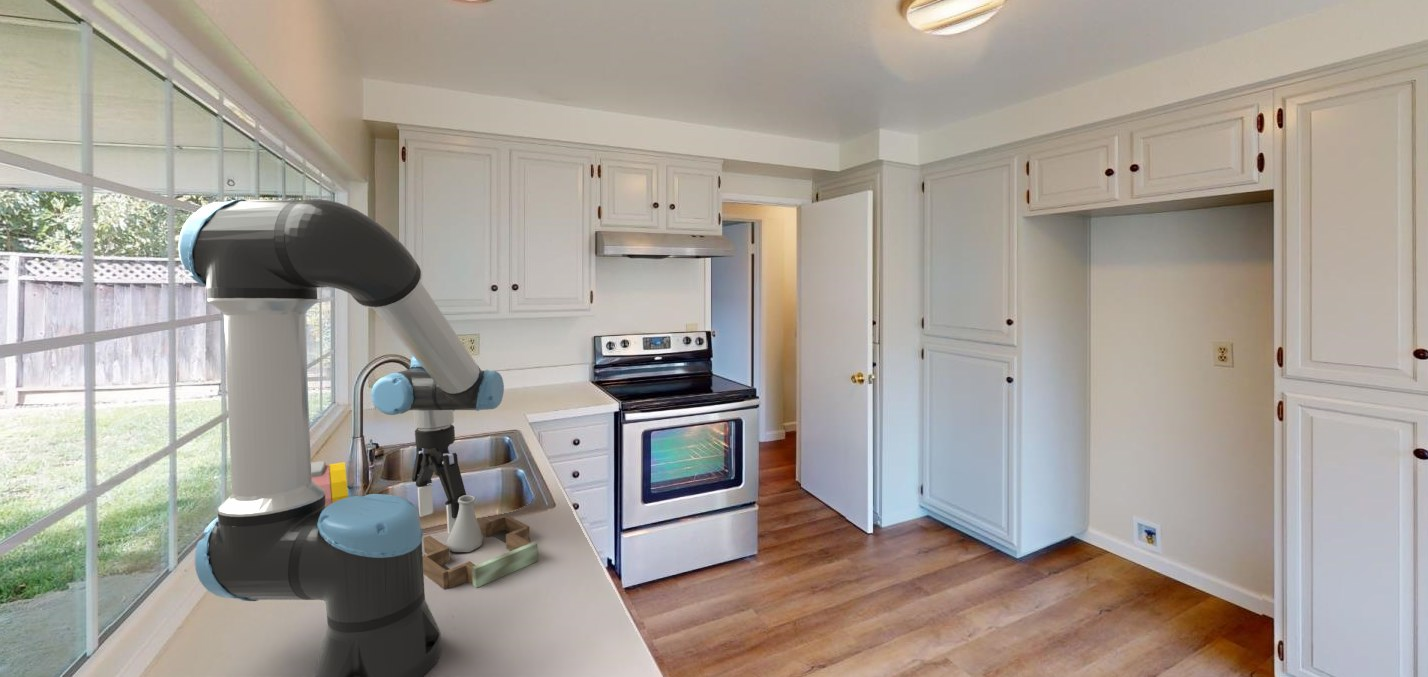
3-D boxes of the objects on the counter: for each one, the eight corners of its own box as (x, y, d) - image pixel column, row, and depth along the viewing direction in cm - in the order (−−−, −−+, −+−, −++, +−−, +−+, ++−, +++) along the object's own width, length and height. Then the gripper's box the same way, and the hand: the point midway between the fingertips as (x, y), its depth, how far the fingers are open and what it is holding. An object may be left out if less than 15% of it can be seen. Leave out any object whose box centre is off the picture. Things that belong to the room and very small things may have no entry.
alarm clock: (302, 542, 116) (295, 457, 114) (349, 532, 120) (343, 450, 119) (300, 572, 103) (292, 477, 102) (352, 559, 108) (346, 468, 106)
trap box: (454, 597, 95) (453, 578, 94) (404, 559, 108) (403, 542, 108) (555, 553, 110) (554, 536, 110) (499, 524, 124) (499, 509, 123)
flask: (489, 538, 117) (492, 493, 115) (471, 556, 109) (474, 509, 108) (457, 532, 117) (460, 488, 116) (436, 550, 110) (439, 503, 109)
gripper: (481, 432, 113) (486, 532, 115) (426, 414, 128) (431, 503, 130) (444, 440, 107) (450, 546, 109) (391, 420, 123) (397, 513, 125)
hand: (440, 522), depth 120 cm, fingers open, 13 cm apart
